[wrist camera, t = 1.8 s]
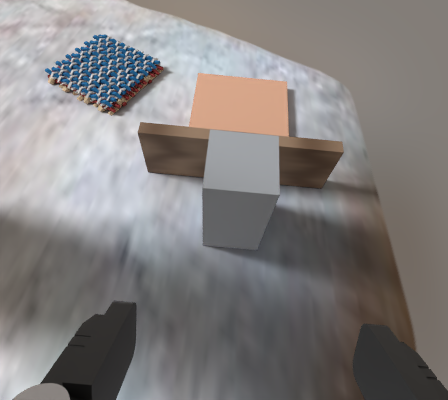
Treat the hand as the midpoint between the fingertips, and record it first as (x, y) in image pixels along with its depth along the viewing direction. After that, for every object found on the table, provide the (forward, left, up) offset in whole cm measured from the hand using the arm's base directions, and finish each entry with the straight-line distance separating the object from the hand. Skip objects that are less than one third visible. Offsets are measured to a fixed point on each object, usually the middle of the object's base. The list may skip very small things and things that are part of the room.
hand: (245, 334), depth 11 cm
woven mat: (-30, +17, -16) cm, 38 cm away
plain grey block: (-6, +10, -15) cm, 19 cm away
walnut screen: (-9, +15, -15) cm, 23 cm away
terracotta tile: (-14, +22, -15) cm, 30 cm away
